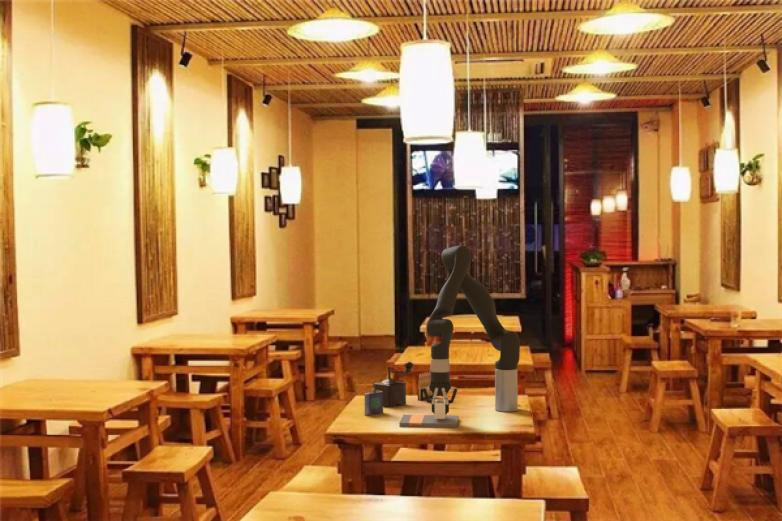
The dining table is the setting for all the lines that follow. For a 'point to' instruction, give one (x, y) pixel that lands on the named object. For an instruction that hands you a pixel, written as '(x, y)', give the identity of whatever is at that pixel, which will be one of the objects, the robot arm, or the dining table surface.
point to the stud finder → (440, 409)
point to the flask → (373, 402)
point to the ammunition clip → (424, 382)
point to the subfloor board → (428, 421)
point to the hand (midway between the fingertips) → (440, 413)
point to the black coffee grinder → (393, 388)
